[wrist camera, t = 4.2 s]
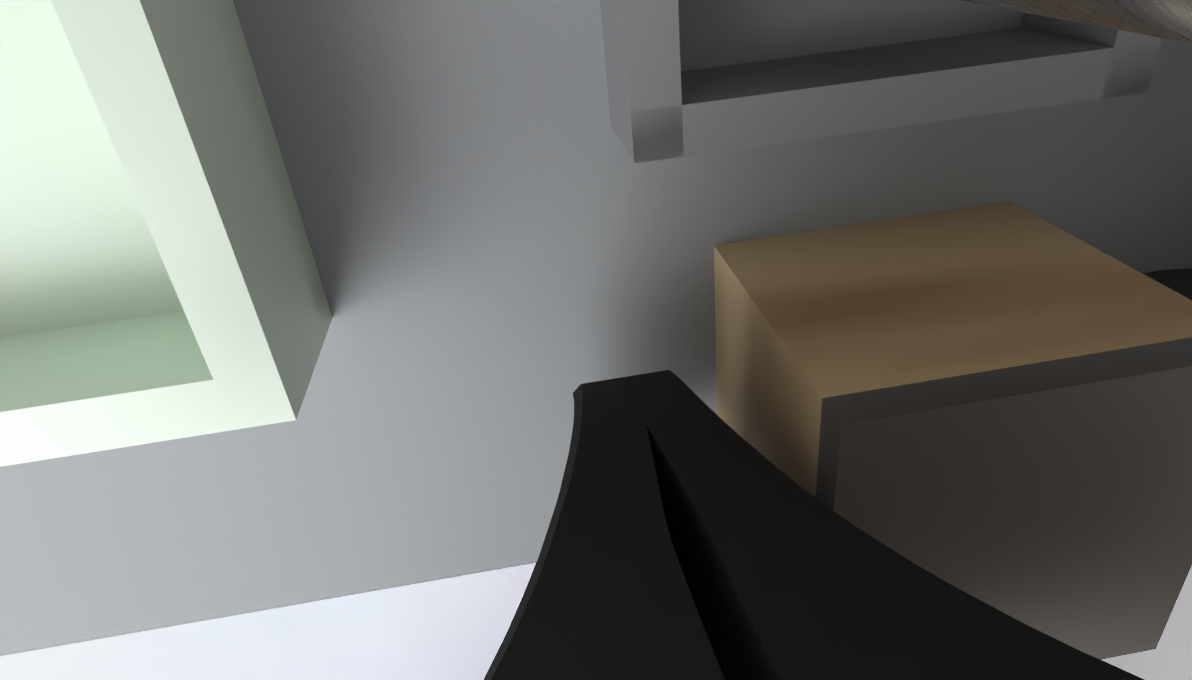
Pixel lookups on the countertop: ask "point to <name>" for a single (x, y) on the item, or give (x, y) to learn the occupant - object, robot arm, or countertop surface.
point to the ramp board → (564, 259)
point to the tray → (144, 232)
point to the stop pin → (1113, 14)
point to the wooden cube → (976, 407)
